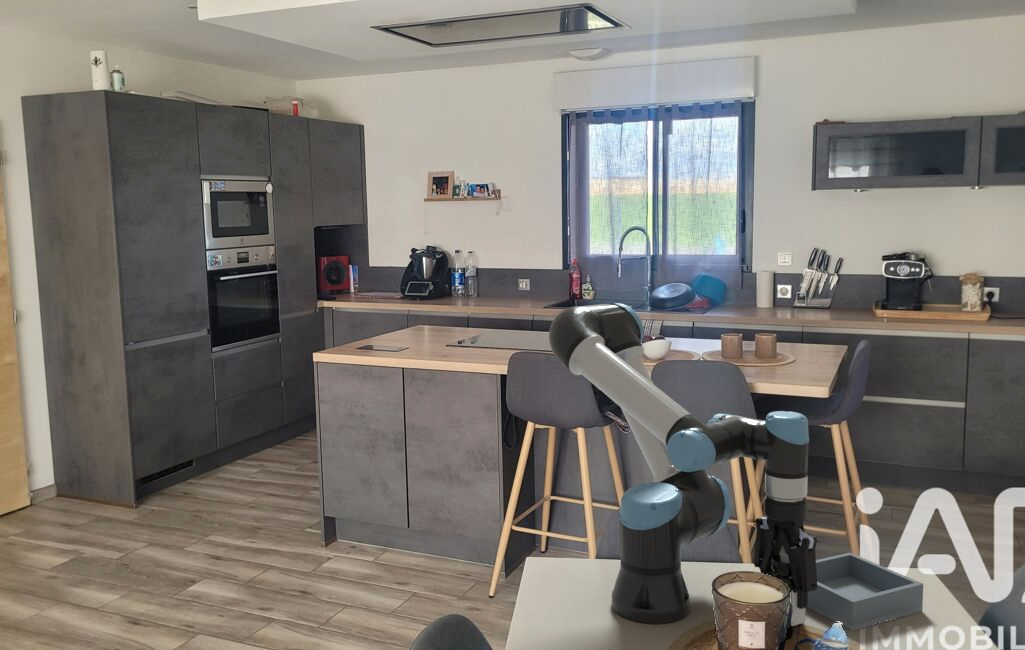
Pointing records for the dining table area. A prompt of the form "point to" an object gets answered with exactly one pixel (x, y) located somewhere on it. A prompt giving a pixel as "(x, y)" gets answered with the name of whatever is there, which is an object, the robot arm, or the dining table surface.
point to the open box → (862, 592)
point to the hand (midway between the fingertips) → (783, 614)
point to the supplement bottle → (782, 570)
